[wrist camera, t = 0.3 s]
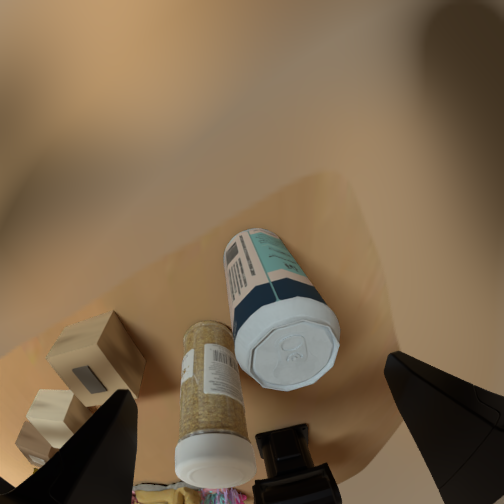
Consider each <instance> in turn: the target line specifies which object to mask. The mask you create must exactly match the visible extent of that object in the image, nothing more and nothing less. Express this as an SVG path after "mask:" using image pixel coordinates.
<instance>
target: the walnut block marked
mask: <svg viewBox="0 0 504 504" xmlns="http://www.w3.org/2000/svg"><path fill="white" fill-rule="evenodd" d="M15 444H16V446H17V447H18V448H19V449H20V451H21V452H22V453H23V455H24V456H25V457H26V458H27V459H28V461H29V462H30V463H31V464H33V465H35V466H38V467H40V468H41V467H42V466H43V465H44V464H45V463H46V462H47V461H48V460H49V459H50V458H51V457H52V456H53V455H54V454H55V453H56V452H57V451H59V448H53V447H52V446H51V444H50V443H49V442H48V441H47V440H46V439H45V438H44V437H43V436H42V435H41V434H40V433H39V431H38V430H37V429H36V428H35V427H34V426H33V425H32V423H30V422H27V421H25V422H24V424H23V426H22V429H21V431H20V433H19V435H18V438H17V440H16V442H15Z"/></svg>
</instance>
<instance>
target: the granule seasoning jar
mask: <svg viewBox="0 0 504 504" xmlns="http://www.w3.org/2000/svg"><path fill="white" fill-rule="evenodd" d="M183 345H184V357H183V362H182V375H181V392H180V409H181V410H180V430H179V433H180V435H179V440H178V445H177V446H176V449H175V472H176V474H177V476H178V477H179V478H180V479H181V480H182V481H184V482H186V483H187V484H190V485H193V486H196V487H201V488H209V489H222V488H230V487H235V486H238V485H241V484H244V483H246V482H248V481H249V480H251V479H252V478H253V477H254V476H255V474H256V470H257V469H256V461H255V455H254V449H253V446H252V445H251V442H250V440H249V438H248V432H247V427H246V419H245V407H244V401H243V395H242V389H241V382H240V376H239V370H238V364H237V360H236V357H235V350H234V340H233V333H232V332H231V331H230V330H229V329H228V328H227V327H226V326H225V325H223V324H221V323H218V322H214V321H203V322H198V323H196V324H194V325H193V326H191V327H190V328H189V329H188V331H187V332H186V333H185V335H184V339H183Z"/></svg>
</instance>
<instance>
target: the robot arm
mask: <svg viewBox="0 0 504 504" xmlns="http://www.w3.org/2000/svg"><path fill="white" fill-rule="evenodd" d="M384 375H385V378H386V380H387V383H388V385H389V388H390V390H391V393H392V395H393V398H394V400H395V403H396V405H397V408H398V410H399V412H400V414H401V415H402V417H403V419H404V421H405V423H406V425H407V427H408V429H409V430H410V433H411V435H412V436H413V438H414V440H415V442H416V444H417V446H418V448H419V450H420V452H421V454H422V456H423V458H424V460H425V462H426V465H427V467H428V468H429V471H430V473H431V475H432V477H433V479H434V481H435V483H436V486H437V488H438V489H439V492H440V495H441V497H442V499H443V501H444V503H445V504H504V396H501V395H498V394H495V393H492V392H490V391H487V390H485V389H482V388H480V387H478V386H475V385H473V384H471V383H469V382H466V381H464V380H462V379H460V378H457V377H455V376H453V375H451V374H448V373H446V372H444V371H442V370H440V369H438V368H435V367H433V366H431V365H429V364H427V363H424V362H422V361H420V360H418V359H415V358H414V357H411V356H409V355H407V354H405V353H403V352H401V351H396V352H392V353H390V354H389V355H388V357H387V361H386V365H385V368H384ZM137 419H138V408H137V404H136V402H135V400H134V398H133V396H132V394H131V392H130V390H128V389H117V390H116V391H115V392H114V393H113V394H112V395H111V396H110V397H109V398H108V399H107V400H106V401H105V402H104V403H103V405H102V406H101V407H100V408H99V409H98V410H97V411H96V412H95V413H94V414H93V415H92V416H91V417H90V418H89V419H88V420H87V421H86V422H85V423H84V424H83V425H82V426H81V427H80V428H79V429H78V430H77V431H76V432H75V434H74V435H73V436H72V437H71V438H70V439H69V440H68V441H67V442H66V443H65V444H64V445H63V446H62V447H61V448H60V449H59V451H57V452H56V453H55V454H54V455H53V456H52V457H51V458H50V459H49V460H48V461H47V462H46V463H45V464H44V465H43V466H42V467H41V468H40V469H38V470H37V471H36V472H35V473H34V474H32V475H31V476H30V477H29V478H28V479H26V480H25V481H24V482H23V483H21V484H20V485H19V486H18V487H16V488H15V489H14V490H12V491H10V492H9V493H6V494H2V495H0V504H131V502H132V490H133V479H134V470H135V461H136V453H137ZM255 438H256V442H257V445H258V449H259V452H260V456H261V458H262V459H264V462H265V467H266V472H267V477H268V478H267V479H262V480H255V485H254V486H252V489H253V494H254V504H342V499H341V495H340V492H339V489H338V486H337V484H336V481H335V479H334V477H333V475H332V473H331V471H330V468H329V466H328V464H327V462H326V463H323V464H322V465H319V466H316V467H314V464H313V461H312V458H311V455H310V452H309V449H308V427H307V424H302V425H298V426H294V427H289V428H285V429H281V430H276V431H271V432H266V433H261V434H257V435H256V436H255Z"/></svg>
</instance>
